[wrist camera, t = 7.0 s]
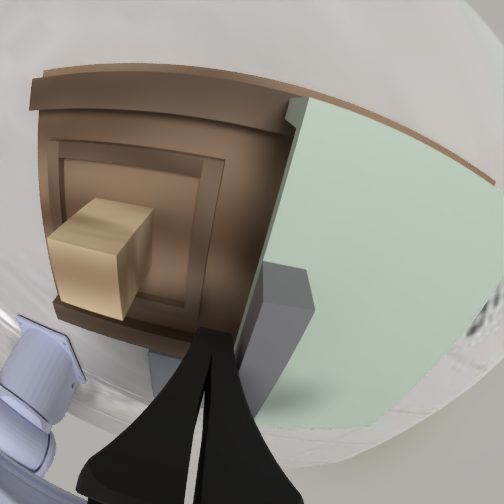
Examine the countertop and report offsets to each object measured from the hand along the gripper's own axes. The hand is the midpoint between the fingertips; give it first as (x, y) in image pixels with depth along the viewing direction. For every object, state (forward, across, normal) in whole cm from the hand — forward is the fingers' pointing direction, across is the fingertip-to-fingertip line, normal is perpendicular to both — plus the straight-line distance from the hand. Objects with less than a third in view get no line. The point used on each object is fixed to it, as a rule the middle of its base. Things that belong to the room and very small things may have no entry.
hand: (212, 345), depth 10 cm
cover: (+5, -7, 0) cm, 9 cm away
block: (+7, +7, 0) cm, 10 cm away
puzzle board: (+7, -1, 0) cm, 8 cm away
